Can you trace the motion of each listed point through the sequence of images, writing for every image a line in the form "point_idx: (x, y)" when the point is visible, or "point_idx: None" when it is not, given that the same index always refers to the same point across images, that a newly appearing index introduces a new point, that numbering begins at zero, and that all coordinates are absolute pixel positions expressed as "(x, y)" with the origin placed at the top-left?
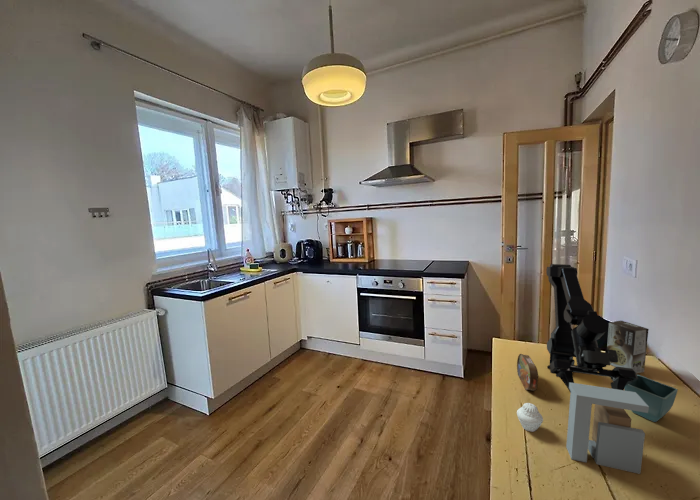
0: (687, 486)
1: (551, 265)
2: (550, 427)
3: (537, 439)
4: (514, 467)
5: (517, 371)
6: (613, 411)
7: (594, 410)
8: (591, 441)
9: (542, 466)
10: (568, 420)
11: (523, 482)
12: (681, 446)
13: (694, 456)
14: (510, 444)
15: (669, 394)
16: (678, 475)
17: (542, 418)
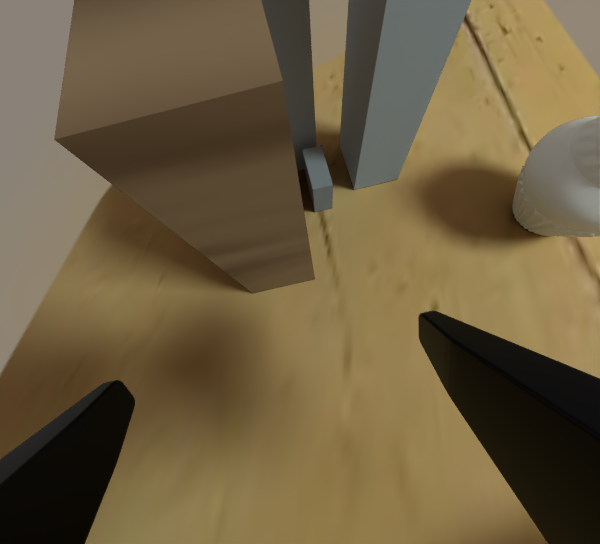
0: (112, 197)
1: None
2: (464, 261)
3: (490, 165)
4: (511, 32)
5: None
6: None
7: (303, 211)
8: (324, 178)
9: (447, 71)
10: (444, 62)
11: (476, 9)
12: (13, 409)
13: (7, 361)
14: (559, 96)
15: None
16: (112, 230)
17: (540, 169)
